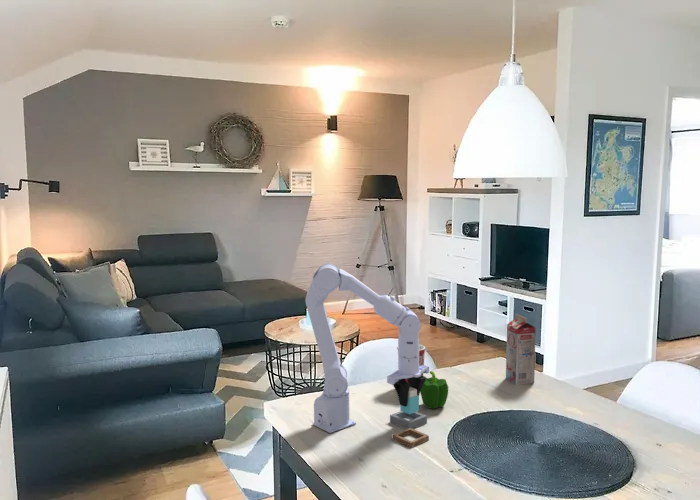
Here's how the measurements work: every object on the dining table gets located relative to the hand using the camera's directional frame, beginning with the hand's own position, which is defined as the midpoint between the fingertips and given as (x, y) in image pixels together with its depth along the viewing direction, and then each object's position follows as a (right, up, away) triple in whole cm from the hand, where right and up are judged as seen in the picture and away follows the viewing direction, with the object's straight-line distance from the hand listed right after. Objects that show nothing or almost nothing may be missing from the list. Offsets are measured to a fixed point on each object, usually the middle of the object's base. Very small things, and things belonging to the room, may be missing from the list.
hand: (408, 403), depth 163 cm
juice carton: (+40, -1, +34) cm, 53 cm away
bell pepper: (+9, -4, +13) cm, 16 cm away
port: (0, -5, +1) cm, 5 cm away
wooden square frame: (-1, -7, -10) cm, 12 cm away
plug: (0, -2, 0) cm, 2 cm away
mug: (+4, -3, +26) cm, 27 cm away
